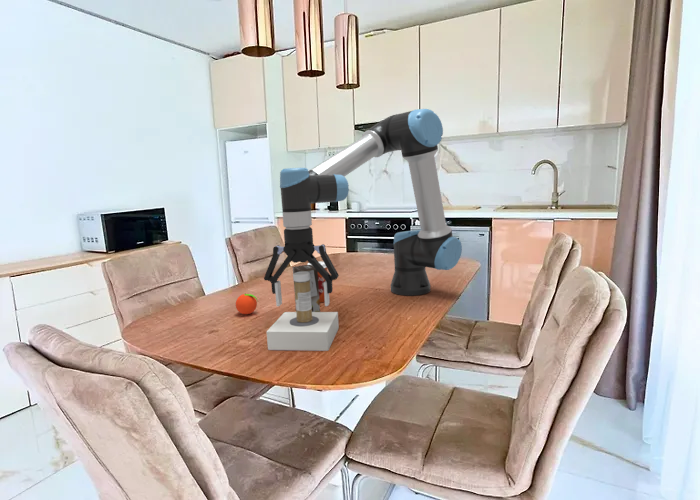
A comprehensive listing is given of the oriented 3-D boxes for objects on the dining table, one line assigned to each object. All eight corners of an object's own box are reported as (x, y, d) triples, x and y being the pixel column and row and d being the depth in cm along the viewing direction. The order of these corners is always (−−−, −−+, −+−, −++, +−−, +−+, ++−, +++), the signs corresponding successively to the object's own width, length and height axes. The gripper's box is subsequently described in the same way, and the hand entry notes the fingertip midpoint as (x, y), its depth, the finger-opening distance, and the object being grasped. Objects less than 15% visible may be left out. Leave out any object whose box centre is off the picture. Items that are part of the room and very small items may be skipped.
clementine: (264, 311, 139) (262, 291, 138) (254, 317, 133) (252, 296, 132) (243, 310, 142) (241, 290, 140) (232, 316, 135) (230, 296, 134)
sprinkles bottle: (297, 317, 114) (294, 271, 112) (313, 317, 114) (310, 270, 112) (295, 323, 110) (291, 275, 107) (312, 323, 110) (308, 274, 107)
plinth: (338, 328, 120) (337, 311, 119) (328, 350, 104) (327, 331, 103) (286, 328, 122) (284, 311, 121) (268, 349, 106) (266, 330, 106)
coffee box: (321, 318, 129) (318, 269, 126) (301, 321, 127) (298, 271, 124) (313, 310, 137) (310, 264, 135) (295, 313, 135) (291, 266, 133)
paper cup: (324, 304, 144) (322, 265, 141) (305, 303, 146) (302, 265, 144) (332, 298, 151) (330, 261, 149) (313, 297, 154) (311, 260, 151)
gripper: (346, 224, 110) (350, 300, 113) (258, 227, 113) (264, 300, 117) (341, 227, 102) (345, 309, 106) (247, 230, 106) (254, 309, 110)
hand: (303, 304), depth 111 cm, fingers open, 13 cm apart
